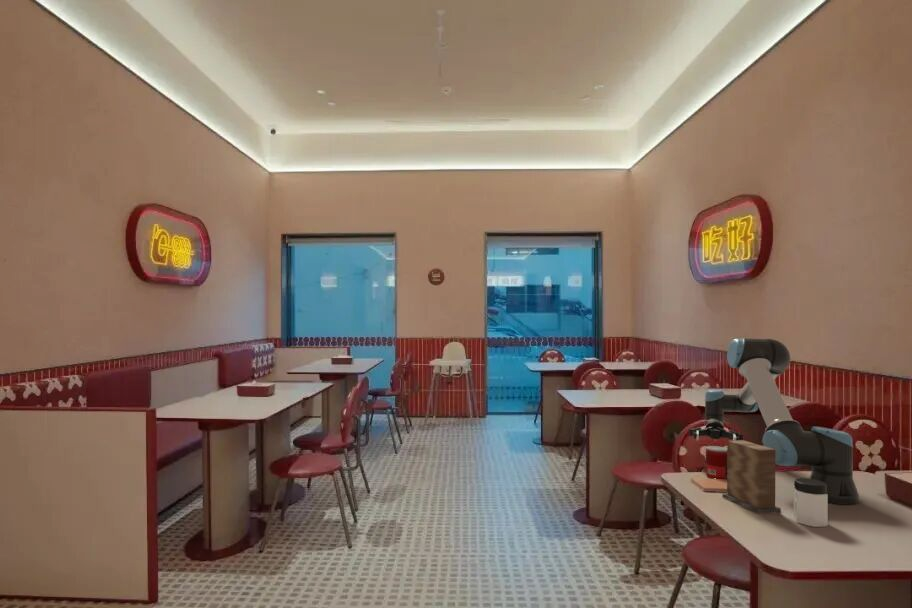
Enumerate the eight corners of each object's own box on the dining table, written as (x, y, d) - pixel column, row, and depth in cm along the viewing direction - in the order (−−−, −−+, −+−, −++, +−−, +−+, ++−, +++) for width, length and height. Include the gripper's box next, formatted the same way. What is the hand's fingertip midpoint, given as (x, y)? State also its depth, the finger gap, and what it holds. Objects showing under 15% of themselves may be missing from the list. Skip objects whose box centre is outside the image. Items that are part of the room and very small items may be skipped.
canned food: (731, 480, 208) (731, 451, 209) (708, 479, 210) (708, 449, 210) (725, 475, 216) (725, 446, 216) (703, 473, 217) (703, 445, 218)
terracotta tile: (724, 482, 206) (724, 479, 206) (738, 492, 194) (738, 489, 194) (691, 481, 206) (691, 478, 206) (703, 491, 194) (703, 487, 194)
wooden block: (722, 497, 188) (722, 440, 189) (742, 495, 190) (742, 439, 191) (759, 513, 173) (759, 451, 173) (780, 511, 175) (780, 450, 175)
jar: (791, 515, 172) (791, 476, 172) (822, 519, 169) (822, 479, 169) (797, 525, 163) (797, 483, 164) (830, 529, 160) (830, 487, 161)
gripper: (746, 440, 237) (751, 452, 218) (683, 434, 247) (682, 444, 228) (747, 423, 237) (751, 432, 218) (683, 417, 247) (682, 426, 228)
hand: (716, 439), depth 223 cm, fingers open, 13 cm apart
